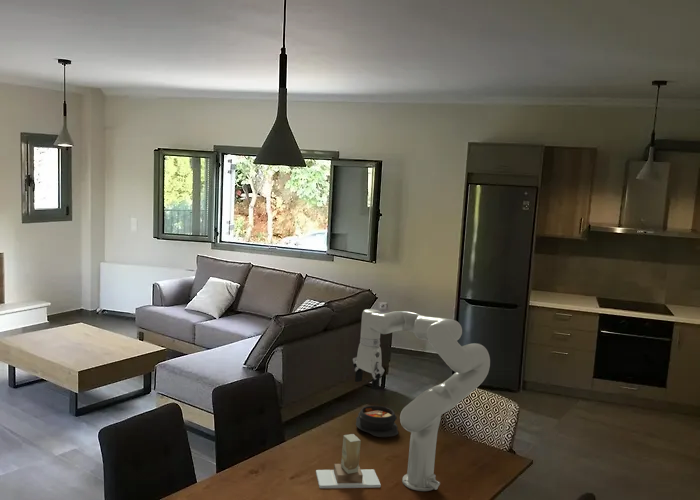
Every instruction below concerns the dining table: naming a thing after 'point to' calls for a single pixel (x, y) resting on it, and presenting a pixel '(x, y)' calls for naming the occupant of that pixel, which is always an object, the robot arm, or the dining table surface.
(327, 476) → the white board
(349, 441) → the skincare box
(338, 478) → the walnut plinth
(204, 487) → the dining table surface
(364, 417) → the casserole
